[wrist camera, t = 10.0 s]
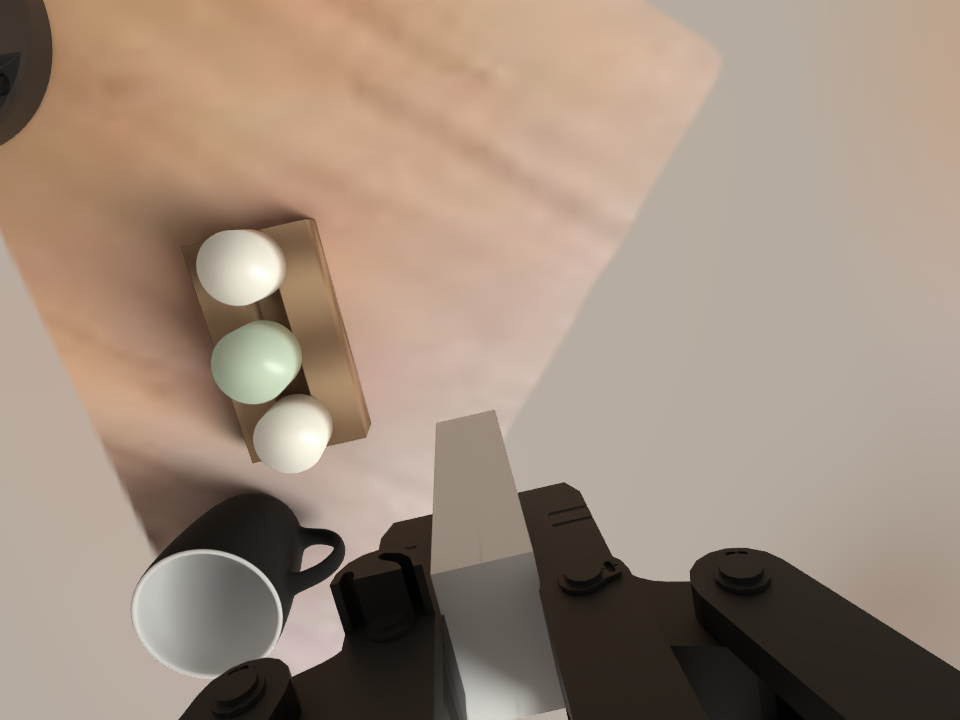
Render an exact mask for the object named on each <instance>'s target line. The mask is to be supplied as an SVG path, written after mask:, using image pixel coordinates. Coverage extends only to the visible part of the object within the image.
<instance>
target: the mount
mask: <svg viewBox="0 0 960 720" xmlns="http://www.w3.org/2000/svg"><path fill="white" fill-rule="evenodd" d="M257 231H260V232H263V233H265V234H267V235H268V236H270V237H271V238H273V239H274V240H275V241H276V242H277V244H278V245H279V246H280V248H281V249H282V251H283V253H284V256H285V260H286V275H285V278H284V281H283V283H282V284H281V286H280V287H279V288H278V290H277V291H275V292H274V293H273V294H271V295H270V296H268V297H265V298H263V299H261V300H258V301H256V302H254V303H251V304H248V305H243V306H233V305H228V304H225V303H222V302H220V301H218V300H216V299H215V298H213V297H212V296H211V295H210V294H209V293H208V292H207V291H206V290H205V289H204V287H203V286H202V284H201V282H200V280H199V278H198V274H197V269H196V261H197V255H198V252H199V250H200V248H201V246H202V245H203V243H204V242H202V243H197V244H193V245H188V246H184V247H181V249H182V252H183V255H184V258H185V261H186V264H187V267H188V270H189V273H190V276H191V279H192V282H193V285H194V288H195V291H196V294H197V297H198V300H199V303H200V306H201V309H202V312H203V315H204V318H205V321H206V324H207V327H208V330H209V333H210V336H211V339H212V342H213V345H214V348H215V346H216V345H217V343H218V342H219V341H220V340H221V339H222V338H223V337H224V336H226V335H227V334H229V333H231V332H233V331H235V330H237V329H238V328H240V327H242V326H244V325H246V324H248V323H251V322H254V321H259V320H267V321H273V322H276V323H279V324H281V325H283V326H284V327H286V328H287V329H288V330H290V331H291V332H292V333H293V335H294V336H295V337H296V339H297V340H298V342H299V345H300V347H301V351H302V363H301V367H300V370H299V372H298V374H297V375H296V377H295V378H294V379H293V380H292V381H291V382H290V383H289V384H288V385H287V387H286V388H285V389H284V390H283V391H282V392H281V393H280V394H279V395H278V396H276V397H275V398H273V399H272V400H270V401H267V402H264V403H260V404H246V403H241V402H238V401H236V400H234V399H232V398H231V400H232V403H233V406H234V409H235V412H236V415H237V418H238V421H239V424H240V427H241V430H242V433H243V436H244V439H245V442H246V445H247V448H248V451H249V454H250V457H251V460H252V463H256V462H260V461H261V459H260V458H259V457H258V455H257V453H256V451H255V448H254V444H253V434H254V430H255V427H256V425H257V423H258V422H259V420H260V419H261V418H262V417H263V416H264V415H265V414H266V413H267V412H268V410H269V409H270V408H271V407H272V406H273V405H274V404H275V403H276V402H277V401H278V400H280V399H281V398H283V397H285V396H288V395H292V394H305V395H309V396H312V397H314V398H316V399H318V400H319V401H320V402H322V403H323V404H324V405H325V406H326V408H327V409H328V410H329V412H330V414H331V417H332V421H333V431H332V435H331V438H330V440H329V442H328V443H327V445H326V446H331V445H335V444H340V443H344V442H348V441H353V440H357V439H362V438H366V436H367V433H368V430H369V428H370V425H371V421H370V418H369V414H368V410H367V407H366V403H365V399H364V396H363V392H362V389H361V385H360V381H359V378H358V374H357V370H356V367H355V363H354V360H353V356H352V352H351V349H350V345H349V341H348V338H347V334H346V331H345V327H344V323H343V320H342V316H341V312H340V309H339V305H338V302H337V298H336V294H335V291H334V287H333V283H332V280H331V276H330V273H329V269H328V265H327V262H326V258H325V254H324V251H323V247H322V244H321V240H320V236H319V233H318V229H317V225H316V222H315V220H310V219H305V220H300V221H296V222H291V223H287V224H282V225H278V226H273V227H269V228H264V229H260V230H257Z"/></svg>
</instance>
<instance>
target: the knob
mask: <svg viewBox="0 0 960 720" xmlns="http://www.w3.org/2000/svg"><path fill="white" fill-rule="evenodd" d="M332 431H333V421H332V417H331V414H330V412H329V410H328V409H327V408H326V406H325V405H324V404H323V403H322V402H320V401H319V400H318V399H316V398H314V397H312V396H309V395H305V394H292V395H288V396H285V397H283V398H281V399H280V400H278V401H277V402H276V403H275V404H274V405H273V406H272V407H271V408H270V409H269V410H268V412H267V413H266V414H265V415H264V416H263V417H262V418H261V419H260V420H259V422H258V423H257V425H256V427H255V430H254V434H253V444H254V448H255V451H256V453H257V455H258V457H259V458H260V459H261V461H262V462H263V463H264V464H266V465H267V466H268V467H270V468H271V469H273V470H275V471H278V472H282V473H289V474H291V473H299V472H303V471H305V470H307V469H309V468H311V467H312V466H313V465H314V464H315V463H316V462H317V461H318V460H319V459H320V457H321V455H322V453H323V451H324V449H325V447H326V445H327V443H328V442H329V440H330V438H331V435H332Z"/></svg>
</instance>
